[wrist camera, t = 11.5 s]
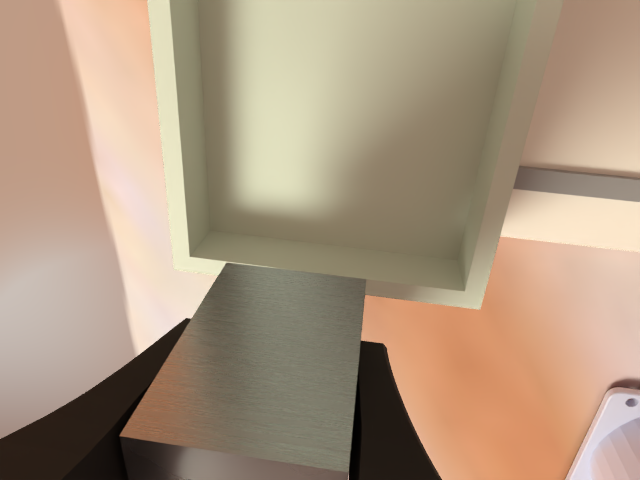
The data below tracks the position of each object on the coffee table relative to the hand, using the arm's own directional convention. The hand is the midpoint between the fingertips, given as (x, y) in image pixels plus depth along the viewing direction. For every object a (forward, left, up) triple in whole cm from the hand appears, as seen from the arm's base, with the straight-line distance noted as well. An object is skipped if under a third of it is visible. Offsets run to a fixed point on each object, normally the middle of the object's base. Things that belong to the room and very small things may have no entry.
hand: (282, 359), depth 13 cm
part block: (0, 0, -2) cm, 2 cm away
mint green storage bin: (-1, -8, -7) cm, 11 cm away
